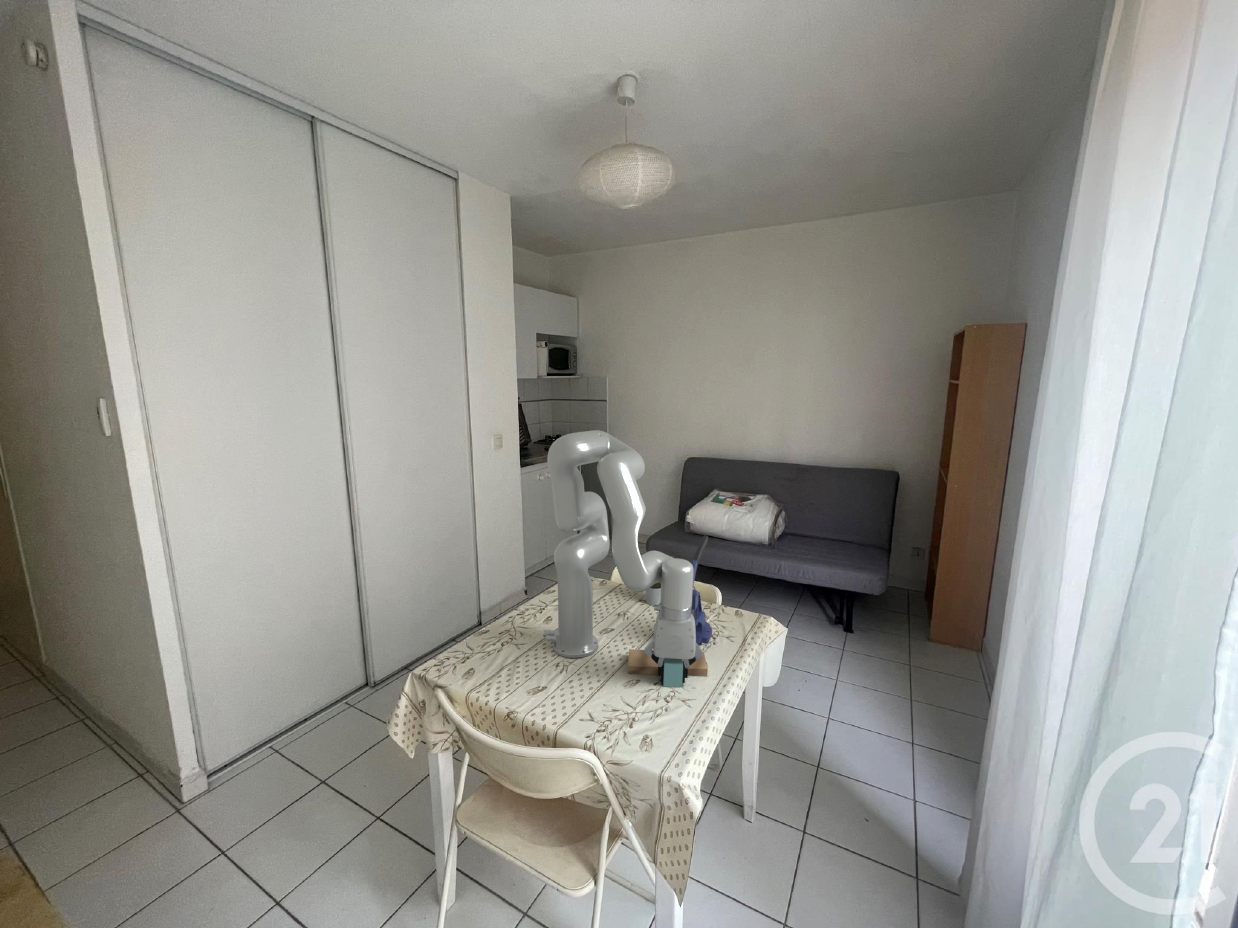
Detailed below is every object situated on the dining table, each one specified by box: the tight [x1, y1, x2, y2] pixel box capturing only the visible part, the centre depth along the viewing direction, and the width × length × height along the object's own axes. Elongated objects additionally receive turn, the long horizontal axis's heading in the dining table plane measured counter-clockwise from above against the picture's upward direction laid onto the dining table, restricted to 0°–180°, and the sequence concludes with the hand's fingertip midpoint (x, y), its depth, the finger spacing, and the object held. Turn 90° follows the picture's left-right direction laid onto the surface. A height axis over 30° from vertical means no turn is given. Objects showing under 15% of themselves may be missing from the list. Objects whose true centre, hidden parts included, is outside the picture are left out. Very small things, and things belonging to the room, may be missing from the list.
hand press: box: [691, 535, 713, 647], centre depth 142 cm, size 19×9×28 cm, turn 157°
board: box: [627, 648, 709, 677], centre depth 129 cm, size 20×8×2 cm, turn 87°
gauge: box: [662, 658, 683, 688], centre depth 125 cm, size 4×10×6 cm, turn 178°
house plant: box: [644, 555, 675, 607], centre depth 167 cm, size 14×14×16 cm
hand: (672, 678), depth 123 cm, fingers closed on gauge, 4 cm apart
